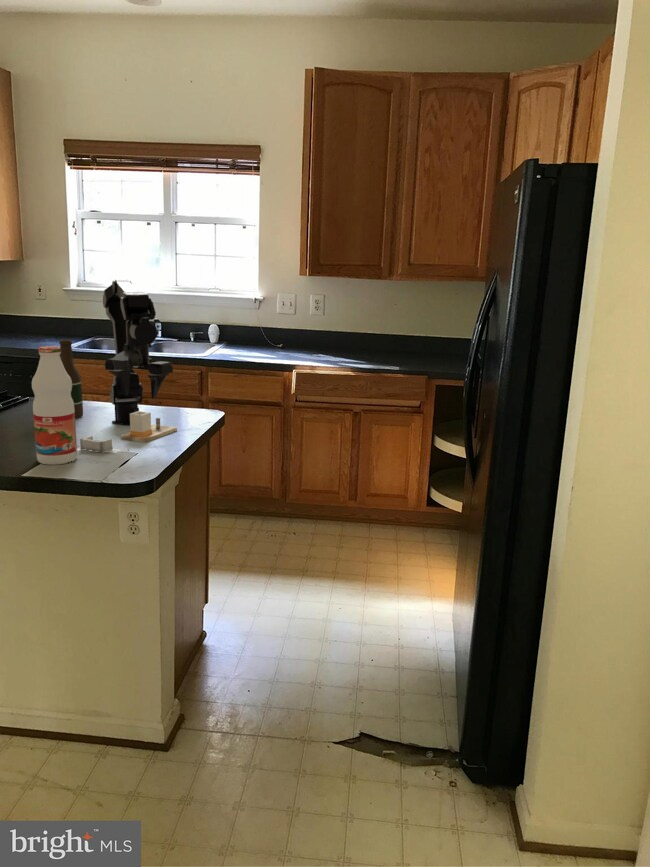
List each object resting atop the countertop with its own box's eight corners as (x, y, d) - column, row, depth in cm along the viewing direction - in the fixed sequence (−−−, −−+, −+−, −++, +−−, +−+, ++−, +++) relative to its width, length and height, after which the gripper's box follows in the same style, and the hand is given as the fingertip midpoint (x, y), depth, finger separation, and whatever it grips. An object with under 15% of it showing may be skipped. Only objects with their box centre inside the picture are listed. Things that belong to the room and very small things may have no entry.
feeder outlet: (80, 449, 181) (80, 439, 180) (91, 445, 185) (90, 435, 184) (102, 452, 178) (101, 442, 178) (112, 449, 182) (111, 438, 181)
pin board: (121, 439, 192) (121, 425, 191) (154, 427, 206) (153, 414, 205) (145, 442, 189) (145, 428, 188) (176, 430, 203) (176, 417, 202)
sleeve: (129, 434, 192) (128, 413, 191) (139, 431, 196) (138, 410, 195) (142, 436, 191) (141, 415, 189) (152, 433, 195) (151, 412, 193)
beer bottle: (88, 416, 218) (84, 339, 212) (68, 420, 211) (62, 341, 205) (72, 412, 222) (67, 337, 216) (51, 417, 215) (46, 339, 209)
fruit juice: (83, 455, 176) (77, 345, 169) (67, 466, 166) (59, 350, 160) (48, 453, 176) (40, 344, 169) (29, 464, 167) (20, 348, 160)
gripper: (89, 340, 183) (92, 398, 187) (148, 345, 176) (150, 405, 180) (116, 337, 193) (119, 392, 197) (173, 341, 187) (174, 398, 190)
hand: (139, 396), depth 191 cm, fingers open, 9 cm apart
